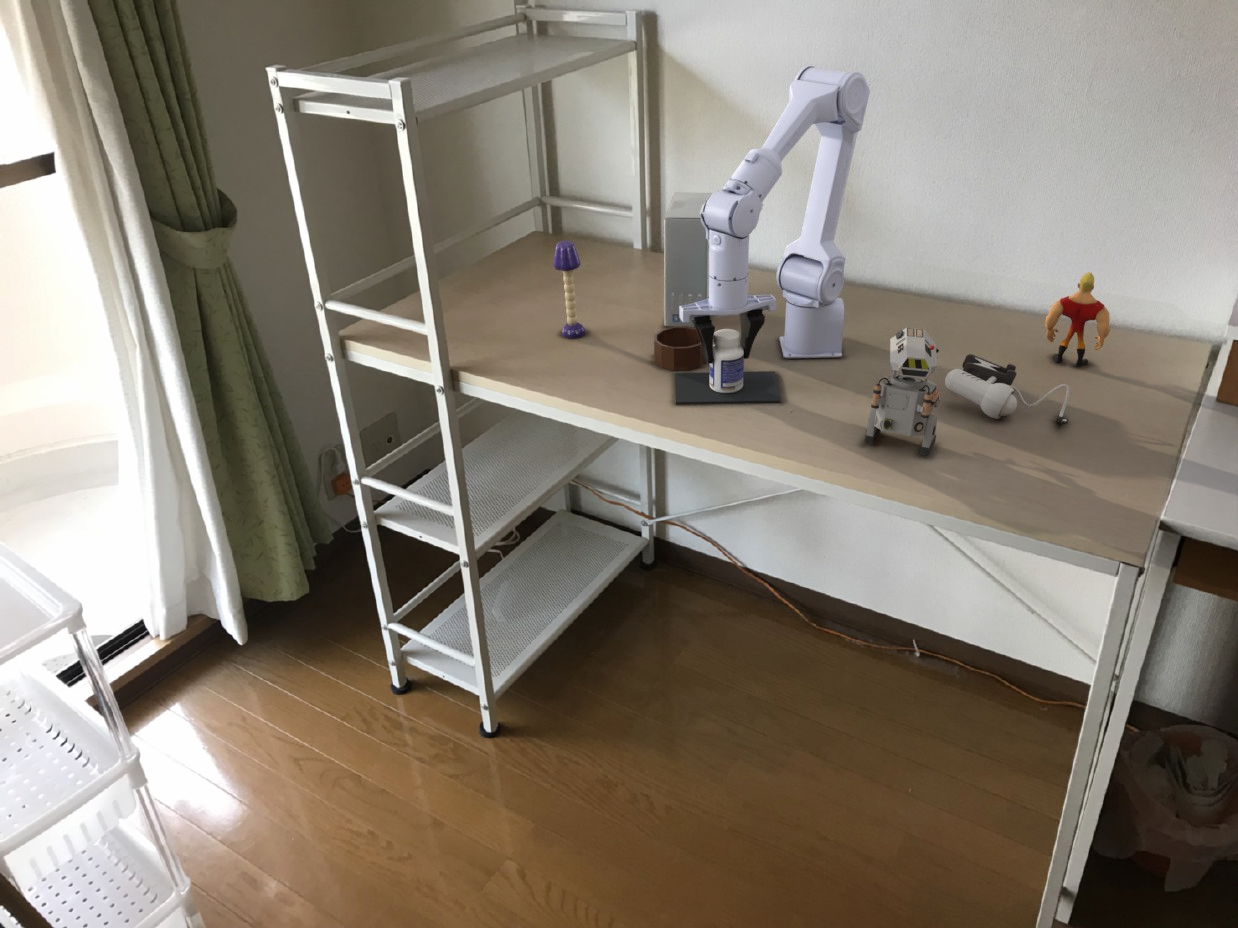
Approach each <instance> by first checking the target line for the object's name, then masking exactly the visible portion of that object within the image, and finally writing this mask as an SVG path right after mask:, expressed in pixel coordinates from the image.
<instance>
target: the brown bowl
mask: <svg viewBox="0 0 1238 928" xmlns="http://www.w3.org/2000/svg"><path fill="white" fill-rule="evenodd" d="M653 351H654V354H653V356H654V359H653V360H654V363H655V364H656V365H657V366H658V367H660V368H661V369H665V370H670V371H690V370H693V369H698V368H701V367H702V366H703V365H704V364H705V363H707V362H706V360H705V359H704V353H703V348H702V344H701V341H700V338H699V335H698V333H697V331H696V328H695V327H687V326H680V327H675V326H669V327H667V328H662V329H660V330H659V331H657V332H656V333H655V334H654V335H653Z"/></svg>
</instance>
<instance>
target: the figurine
mask: <svg viewBox="0 0 1238 928" xmlns="http://www.w3.org/2000/svg"><path fill="white" fill-rule="evenodd" d="M889 340H890V341H889V345H890V346H889V347H890V348H889V362H890V366H891V370H892V371H893V374H892V375H886V376H885V377H882V378H880V379H879V380H878V383H876V384H874V388H873V394H872V397H871V398H872V399H871V405H870V410H869V416H868V421H867V428H866V433H865V436H864V440H863V441H864V442H863V443H866V444H870V445H873V444H874V443H875V441H876V439H877V438H878V437H879V435H880V433H881V432H887V433H891V434H896V435H901V436H904V437H905V436H906V437H911V438H912V437H922V436H923V439H922V443H921V446H920V449H919V454H920V455H924V456H929V455H930V453H931V450H932V449H933V448H934V445H935V443H936V440H937V438H936V437H937V435H936V431H937V425H938V424H937V423H938V416H937V415H933V414H932V413H933V408H934V409H937V408H941V401H942V398H940V397H941V395H940V393H939V390H938V388H937V387H938V383H936V382H934V381H931V380H929V379H928V377H929V376H930V375H932V374H933V373H934V371H935V370H936V368H937V367H938V359H937V358H938V357H937V354H938V353H939V351H940V349H939V348H937V344H936V342H935V340H934V339H933V338H932V337H931V335H929V334H928V332H927V331H926V329H924V328H914V327H912V328H911V327H905V328H904V329H900V330H898V331H897V332H896V333H895V335H894V336H892V337H891V338H890V339H889ZM897 372H898V373H897Z"/></svg>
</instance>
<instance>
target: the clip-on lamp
mask: <svg viewBox="0 0 1238 928" xmlns="http://www.w3.org/2000/svg"><path fill="white" fill-rule="evenodd" d="M961 367H962V369H960V368H954V369H952V370H950V371H948V373H947V374H946V376H945V379H944V384H945V388H946V389H947V390H948V391H951V392H952V393H954V394H956V395H958V396H960V397H962V398H964V399H967V400H968V401H970V402H972V403H974V404H976V405H977V406H978V405H979V407H980V409H981V410H982V412H983V414H985V415H986V416H988V417H990V418H992V419H996V420H997V419H1000V418H1001V417H1002V416H1003V417H1004V416H1009V415H1011V414H1013V413H1014V412H1015V411H1016V409H1017V407H1018V400H1017V398H1016V396H1015V395H1014V394H1015V393H1016V395H1017V396H1018V398H1019V400H1020V402H1021V403H1022V405H1023V406H1024V407H1025V408H1028V409H1030V408H1033V407H1036V406H1038V405H1039V404H1041V403H1042V402H1043V401H1044V400H1046V399H1047V398H1048V397H1050V396H1051V395H1052V394H1053V393H1055V392H1056V391H1058V390H1059V389H1061V388H1065V389H1066V394H1065V398H1064V401H1063V404H1062V405H1061V409H1060V411H1059V413H1058V416H1057V417H1056V420H1055V421H1057V423H1058V424H1060V425H1063V424H1066V425H1067V424H1068V423H1069V418H1066V417H1064V413H1065V410H1066V407H1067V405H1068V401H1069V398H1070V393H1071V391H1070V390H1071V389H1070V386H1069V385H1068V384H1066V383H1065V384H1064V383H1063V384H1060V385H1057V386H1056V387H1054V388H1052V389H1051V390H1049V392H1047V393H1046V394H1044V395H1043V396H1042V397H1040V398H1039V399H1038V400H1036V401H1035V402H1033V403H1030V404H1029V403H1027V402H1026V401H1025V400H1024V398H1023V396H1022V393H1021V392H1020V390H1019V389H1018V388H1017V387H1015V386H1013V382H1014V381H1015V379H1016V376H1017V371H1016V369H1017V366H1016V365H1014V364H1012V363H1008V364H1007V365H1006V367H1005V366H1003V365H1000V364H997V363H995V362H992V361H991V360H987V359H984V358H983V357H980V356H977V355H975V354H973V353H969V354H967V355H966V356H965V358H964V360H963V362H962V366H961Z"/></svg>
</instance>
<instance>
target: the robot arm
mask: <svg viewBox="0 0 1238 928" xmlns="http://www.w3.org/2000/svg"><path fill="white" fill-rule="evenodd" d="M870 93H871V89H870V87H869V84H868V82H867V79H866V78H865V76H864V75H863V74H862V72H859V71H843V70H836V69H828V68H822V67H815V66H814V65H806V66H804V67H802V68H801V69H800V70H799V71H798V72H797V74H796V76H795V78H794V80H793V81H792V83H790V85H789V91H788V103H787V104H786V107H785V108H784V110H783V111H782V113H781V115H780V117H779V118H778V120H777V121H776V123H775V125H774V126H773V128H772V130H771V131H770V132H769V135H768V136H767V139H766V140H765V141H764V144H763V145H762V146H761V147H760V148H753V149H750V150H749V152H748V153H747V154H746V155H745V157H744V158H743V160H742V161H741V163H740V164H739V165H738V167H736V169H735V171H734V172H733V173H732V175H731V176H730V178H729V179H728V181H727V182H726V183H725V185H724V186H723V188H722V189H718V190H717V191H714V192H711V193H712V194H711V195H710V196H709V197H708V198H707V199H706V201H705V203H704V206H703V211H702V213H700V218H701V222H702V225H703V226H704V228H705V230H706V239H707V241H708V242H709V299H705V300H702V301H699V302H695V303H692V304H688V305H683V306H679V317H680V319H681V321H682V322H683V323H685V322H689V321H690V320H692V322H693V324H694V326H695V327H694V328H696V331H697V333H698V335H699V338H700V341H701V344H702V348H703V353H704V359H705V360H706V362H705V363H707V364H708V365H709V364H711V363H713V345H714V333H715V332H716V331H715V330H716V327H715V326H714V325H713V320H712V319H711V318H717V317H724V316H736V315H739V322H740V344H739V345H741V346H742V347H743V350H744V360H747V359H749V358H750V355H751V351H752V348H753V345H754V343H755V339H756V338H757V336H758V334H759V332H760V330H761V329H762V327H763V326H764V325H765V322H766V316H765V315H764V311H768V312H776V310H777V299H776V297H775V296H774V295H773V294H748V293H749V292H748V291H749V289H748V288H749V256H750V255H749V251H750V235H751V234H752V233H753V231H755V230H756V228H757V226H758V223H759V220H760V215H761V212H762V209H763V207H764V203H763V202H764V200H765V199H766V198H767V197H768V195H769V193H770V192H771V191H772V189H773V188H774V187H775V185H776V184H777V182H778V181H779V179H781V177H782V175H783V165H782V162H783V160H784V159H785V158H786V157H787V155H788V154H789V153H790V152H791V151H792V149H794V147H796V145H797V144H798V142H799V141H800V140H801V139H802V137H803V136H804V135H805V134H806V132H807V131H808V130H809V129H811V126H813V125H815V127H816V128H817V130H818V132H819V134H820V141H819V146H818V150H817V155H816V160H815V165H814V170H813V175H812V179H811V180H812V181H811V184H810V189H809V194H808V198H807V203H806V209H805V212H804V213H805V214H804V218H803V221H802V222H803V223H802V228H801V233H800V236H799V238H797V239H795V240H793V241H792V242H790V243H789V244H787V245H786V246H785V248H784V253H783V256H782V258H781V261H780V262H779V264H778V267H777V269H776V273H775V275H776V277H775V279H776V285H777V287H778V288H779V289H780V290H781V291H782V297H783V298H785V316H784V317H785V318H784V335H782V336H779V344H780V347H781V352H782V355H783V358H784V359H824V358H827V359H829V358H842V356H843V353H842V350H843V341H844V340H843V339H844V328H845V327H844V326H845V303H844V300H843V298H842V297H839V296H840V295H841V294H842V291H843V288H844V286H845V285H844V284H845V264H846V263H845V262H846V256H845V254H843V253H842V251H841V250H840V249H839V248H838V246H837V245H836V243H835V238H836V237H835V236H836V233H837V227H838V224H839V220H840V219H839V218H840V215H841V210H842V206H843V201H844V197H845V192H846V187H847V184H848V183H847V182H848V179H849V174H850V170H851V166H852V160H853V155H854V151H855V146H856V142H857V139H858V134H859V133H858V132H860V131H861V130H862V129H863V125H864V120H865V117H866V116H865V115H866V111H867V106H868V102H869V98H870Z"/></svg>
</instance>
